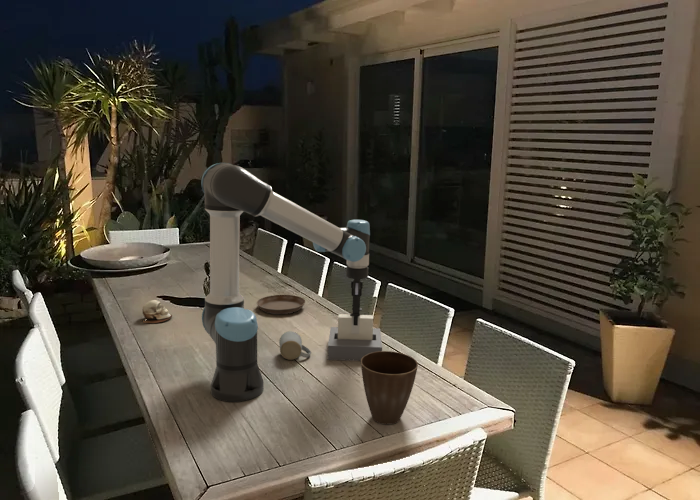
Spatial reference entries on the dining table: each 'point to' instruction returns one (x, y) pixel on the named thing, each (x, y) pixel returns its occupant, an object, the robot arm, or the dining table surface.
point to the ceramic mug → (292, 346)
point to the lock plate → (352, 346)
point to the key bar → (364, 327)
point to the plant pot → (388, 383)
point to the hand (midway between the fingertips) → (355, 331)
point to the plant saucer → (281, 304)
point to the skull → (155, 312)
